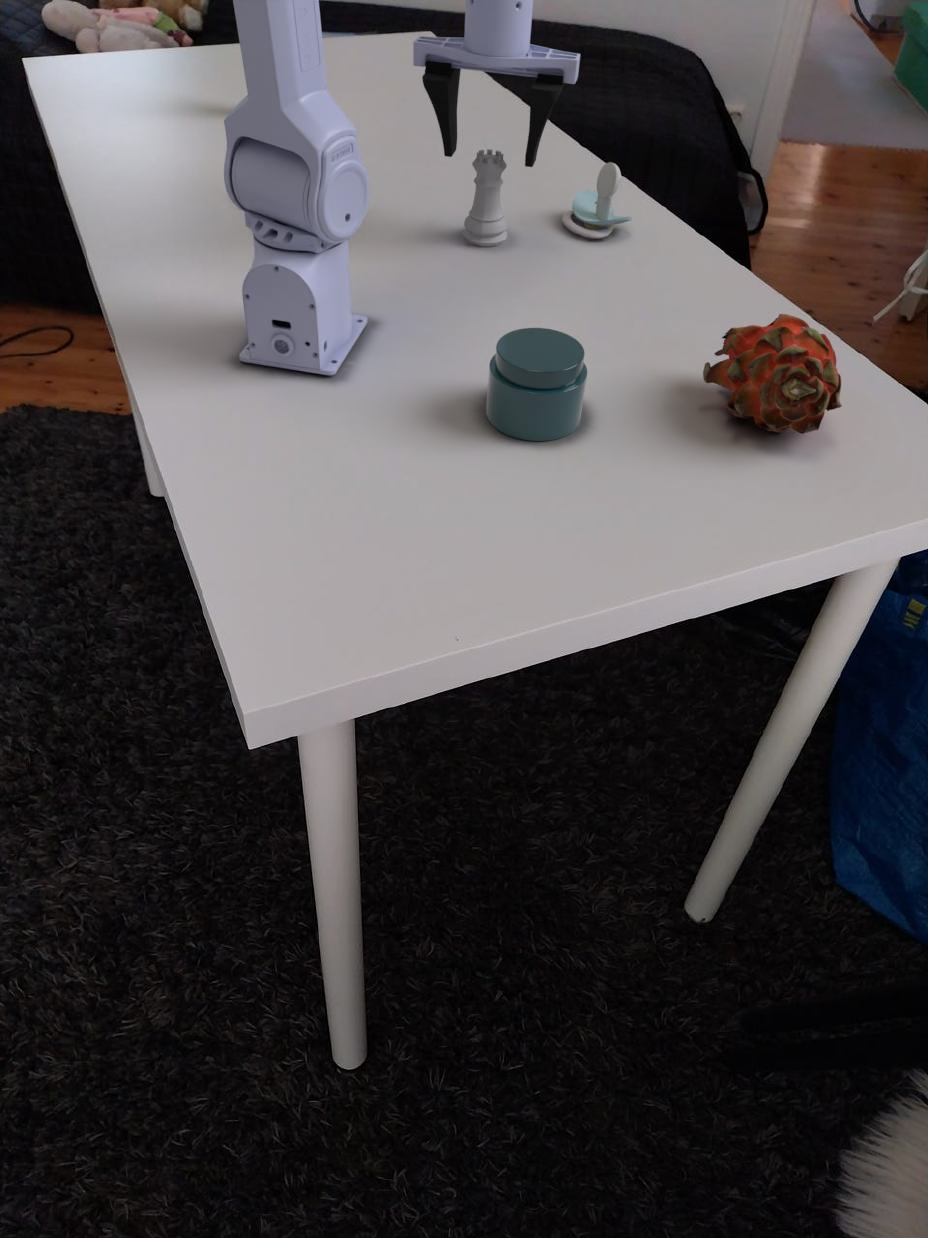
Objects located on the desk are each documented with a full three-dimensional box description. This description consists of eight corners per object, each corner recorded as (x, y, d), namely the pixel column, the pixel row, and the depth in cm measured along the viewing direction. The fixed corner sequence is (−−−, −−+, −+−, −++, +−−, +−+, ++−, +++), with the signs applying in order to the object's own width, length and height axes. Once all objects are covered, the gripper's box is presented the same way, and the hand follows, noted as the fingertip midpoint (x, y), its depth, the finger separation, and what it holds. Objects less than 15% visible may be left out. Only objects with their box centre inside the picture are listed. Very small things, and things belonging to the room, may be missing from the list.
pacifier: (585, 248, 95) (636, 237, 97) (592, 183, 91) (646, 173, 93) (549, 219, 100) (599, 210, 102) (554, 156, 95) (606, 147, 97)
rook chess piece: (503, 250, 94) (509, 164, 88) (458, 244, 94) (461, 159, 89) (510, 232, 97) (517, 148, 91) (467, 226, 97) (471, 142, 92)
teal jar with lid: (573, 448, 70) (583, 381, 66) (477, 432, 71) (481, 365, 67) (586, 397, 75) (596, 332, 71) (496, 383, 76) (501, 318, 72)
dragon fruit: (797, 483, 71) (709, 418, 80) (890, 405, 70) (791, 348, 79) (755, 407, 65) (666, 346, 75) (856, 321, 64) (753, 270, 73)
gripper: (591, -14, 82) (572, 152, 92) (427, -31, 84) (425, 134, 94) (580, 5, 78) (561, 179, 87) (407, -13, 79) (406, 159, 89)
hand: (490, 157), depth 90 cm, fingers open, 7 cm apart
